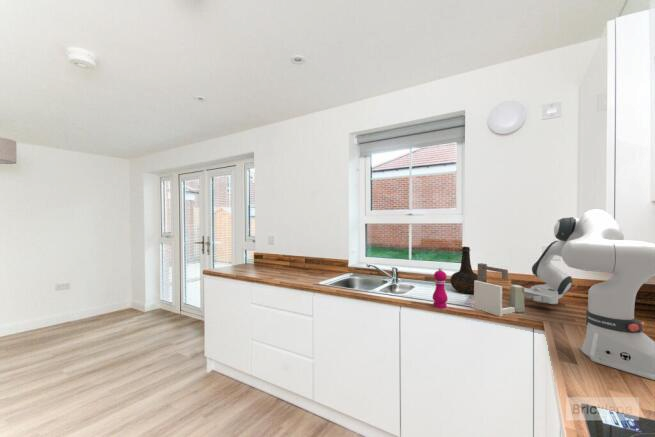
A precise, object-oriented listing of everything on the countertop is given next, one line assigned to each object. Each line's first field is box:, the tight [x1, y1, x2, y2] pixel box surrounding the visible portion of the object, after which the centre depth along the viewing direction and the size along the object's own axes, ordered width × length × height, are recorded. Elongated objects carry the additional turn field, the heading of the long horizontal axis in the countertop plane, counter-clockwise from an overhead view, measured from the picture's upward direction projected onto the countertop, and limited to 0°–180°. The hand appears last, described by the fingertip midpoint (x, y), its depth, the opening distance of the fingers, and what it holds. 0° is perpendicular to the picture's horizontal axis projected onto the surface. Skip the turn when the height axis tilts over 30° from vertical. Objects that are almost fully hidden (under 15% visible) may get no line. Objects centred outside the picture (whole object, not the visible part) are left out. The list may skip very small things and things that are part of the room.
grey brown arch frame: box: [477, 262, 509, 283], centre depth 148 cm, size 14×3×22 cm, turn 25°
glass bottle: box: [450, 246, 478, 295], centre depth 182 cm, size 18×18×28 cm
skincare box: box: [509, 284, 526, 313], centre depth 147 cm, size 6×4×12 cm
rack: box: [473, 281, 516, 318], centre depth 146 cm, size 14×12×14 cm
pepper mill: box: [432, 267, 448, 309], centre depth 152 cm, size 7×7×20 cm
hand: (522, 296), depth 148 cm, fingers open, 8 cm apart
